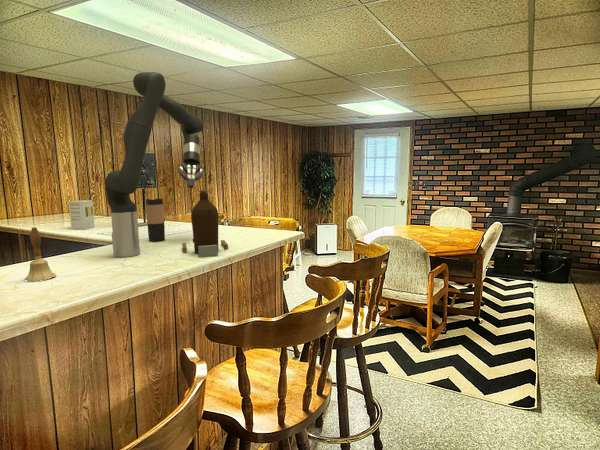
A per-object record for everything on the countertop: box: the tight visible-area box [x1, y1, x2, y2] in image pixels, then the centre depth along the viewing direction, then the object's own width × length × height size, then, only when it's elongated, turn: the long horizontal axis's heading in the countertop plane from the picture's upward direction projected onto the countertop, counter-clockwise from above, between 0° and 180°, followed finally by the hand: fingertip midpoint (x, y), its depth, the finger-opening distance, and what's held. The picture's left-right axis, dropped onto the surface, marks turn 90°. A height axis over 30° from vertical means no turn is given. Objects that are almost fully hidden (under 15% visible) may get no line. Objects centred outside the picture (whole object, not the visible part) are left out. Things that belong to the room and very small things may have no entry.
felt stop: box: [198, 245, 219, 258], centre depth 144 cm, size 7×2×4 cm, turn 109°
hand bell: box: [24, 226, 57, 282], centre depth 116 cm, size 8×8×16 cm
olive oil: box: [190, 189, 220, 255], centre depth 151 cm, size 11×11×25 cm
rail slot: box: [181, 239, 229, 254], centre depth 159 cm, size 18×12×2 cm, turn 109°
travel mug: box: [145, 198, 166, 243], centre depth 179 cm, size 8×8×20 cm
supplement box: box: [68, 199, 96, 231], centre depth 226 cm, size 10×9×17 cm
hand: (190, 187), depth 168 cm, fingers closed
